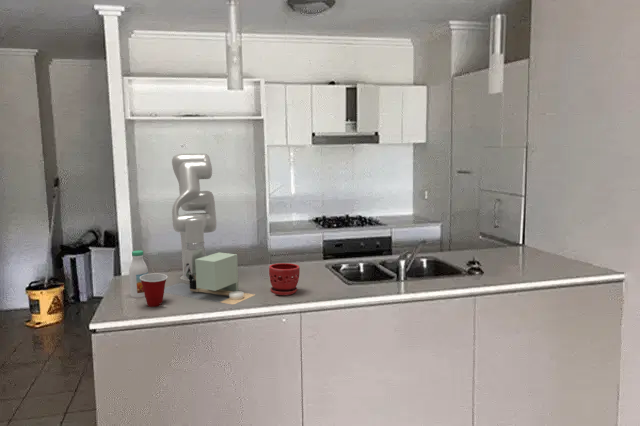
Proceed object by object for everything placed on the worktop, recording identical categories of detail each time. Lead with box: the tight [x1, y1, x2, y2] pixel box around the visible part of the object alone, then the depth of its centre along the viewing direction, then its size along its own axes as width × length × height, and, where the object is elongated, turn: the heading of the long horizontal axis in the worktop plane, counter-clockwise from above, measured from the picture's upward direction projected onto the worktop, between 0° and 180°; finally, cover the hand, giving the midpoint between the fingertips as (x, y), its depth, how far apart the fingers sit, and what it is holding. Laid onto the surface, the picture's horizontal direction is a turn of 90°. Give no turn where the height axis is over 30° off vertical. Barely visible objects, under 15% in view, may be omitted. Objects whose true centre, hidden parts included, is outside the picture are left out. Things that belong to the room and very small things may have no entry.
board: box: [164, 282, 229, 303], centre depth 233 cm, size 15×36×1 cm, turn 61°
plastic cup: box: [140, 272, 168, 308], centre depth 218 cm, size 11×11×12 cm
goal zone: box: [220, 292, 255, 306], centre depth 223 cm, size 15×7×1 cm, turn 151°
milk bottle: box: [128, 249, 149, 298], centre depth 229 cm, size 8×8×20 cm
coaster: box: [229, 290, 245, 300], centre depth 223 cm, size 6×6×2 cm
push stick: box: [188, 274, 233, 296], centre depth 229 cm, size 4×20×7 cm, turn 61°
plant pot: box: [268, 262, 301, 296], centre depth 233 cm, size 13×13×12 cm
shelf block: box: [195, 252, 240, 292], centre depth 227 cm, size 15×10×18 cm, turn 151°
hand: (197, 287), depth 233 cm, fingers closed on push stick, 4 cm apart
